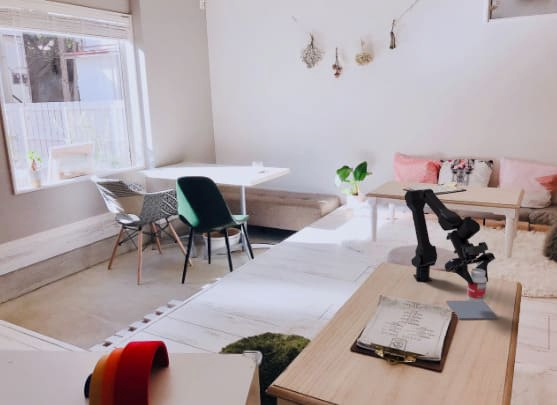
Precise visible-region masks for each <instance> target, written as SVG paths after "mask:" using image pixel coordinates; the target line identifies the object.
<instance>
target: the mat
mask: <svg viewBox="0 0 557 405" xmlns="http://www.w3.org/2000/svg"><path fill="white" fill-rule="evenodd" d="M446 304H447V305H448V307H449V308H450V310H453V311H454V312H455V313H454V312H453V311H452V312H453V313H454V315H455V314H456V315H457V316H456V315H455V316H456V318H457V317H458V318H457V319H458V320H459V321H460V320H465V321H466V320H469V321H470V320H471V321H473V320H499V316H498V315H497V314H496V313H495V312H494V310H492V309H491V307H490V306H489V304H487V303H486V301H485V300H484V301H482V302H475V301H471V300H469V299H467V300H466V299H465V300H446Z"/></svg>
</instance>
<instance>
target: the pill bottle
mask: <svg viewBox="0 0 557 405" xmlns="http://www.w3.org/2000/svg"><path fill="white" fill-rule="evenodd" d="M470 276H471V278H472V281H473V285H470V284H469V283H468V282H467V291H466V298H467V300H471V301H475V302H482V301H484V302H485V300H486V299H485V298H486V291H487V290H486V289H487V283H488V282H487V279H486V277H485V271H484V270H482V269H478V268H476V267H475V268H471V272H470Z"/></svg>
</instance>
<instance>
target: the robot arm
mask: <svg viewBox="0 0 557 405" xmlns="http://www.w3.org/2000/svg"><path fill="white" fill-rule="evenodd" d="M404 200H405V203H406V207H407V208H408V209H409V210H410V211H411V215H412V220H413V224H414V229H415V230H414V231H415V235H416V240H417V242H416V243H417V245H416V248H415V250H414V251H415V256H413V258H412V259H410V262H411V265H412V266H414V267H415V273H414V274H413V278H414V279H415V280H416V282H432V281H433V279H432V278H431V276H430V274H431V273H430V272H431V267H433V266H436V262H437V260H438V252H437V247H436V245H433V244H432V243H431V242H430V237H429V232H428V226H427V221H426V215H425V210H424V209H425V206H426V205H427V206H428V207H429V208H430V210H432V212H433V213H434V214H435V215H436V216H437V223H438V224H439V226H440V228H441V229H442V231H445V232H446V231H451V232H447V236H446V241H448V240H450V241H451V244H452V247H453V248H454V250H453V253H454V254H457V257H456V258H455V257H454V258H450V259H449V260H448V261H446V263H444V269H445V271H446V272H453V273H456V275H458V276H460V277H461V278H462V279H463V280H465V281H466V282H467V284H468V283H469V284H470V285H473V281H472V278H471V276H470V275H471V273H470V272H469V269H468V267H469V266H468V265H472V264H473V265H474V264H476V267H475V268H478V269H482V270H484V271H485V277H486V279H487V283H488V282H489V275H488V265H489V264H490V263H491V262H492V261H494V260H495V259H496V257H495V255H494V253H493V252H486V251H488V250H489V248H488V247H489V246H488V245H487V242H485V241H483V242H482V241H481V242H479V243H477V244H478V245H474V243H473V242H470V241H469V240H470V239H471V238H472V237H474V235H476V234H478V232H479V231H481V225H480V223H478V222H477V220H475V219H473V218H472V217H471V216H465V217H464V218H462V217H461V216H460V215H459V214H458V213H457V212H455V211H453V210H450V209H449V208H448V207H447V206H446V205H445V204H444V203H443V202H442V201H441V199H440V198H439V197H438V195H437V194H435V192H434V190H433V189H432V188H425V189H413V190H407V191H406V192H405V193H404Z"/></svg>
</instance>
